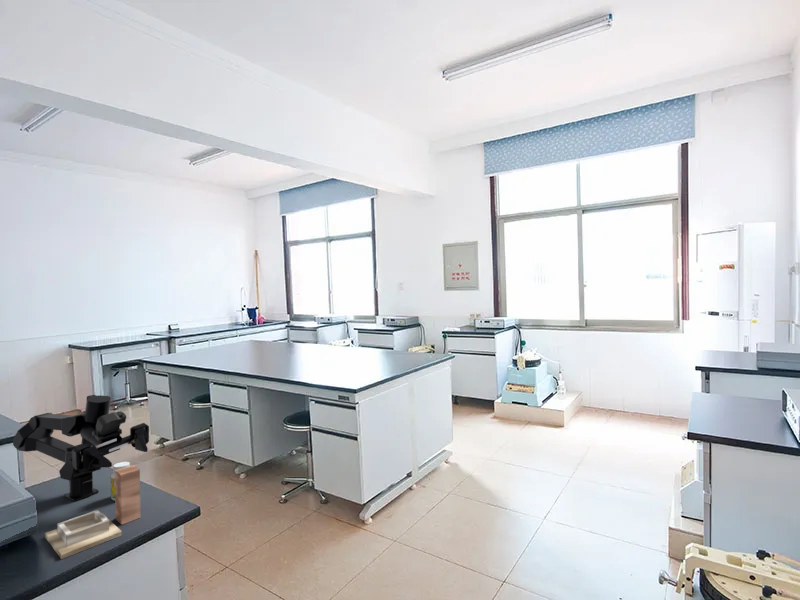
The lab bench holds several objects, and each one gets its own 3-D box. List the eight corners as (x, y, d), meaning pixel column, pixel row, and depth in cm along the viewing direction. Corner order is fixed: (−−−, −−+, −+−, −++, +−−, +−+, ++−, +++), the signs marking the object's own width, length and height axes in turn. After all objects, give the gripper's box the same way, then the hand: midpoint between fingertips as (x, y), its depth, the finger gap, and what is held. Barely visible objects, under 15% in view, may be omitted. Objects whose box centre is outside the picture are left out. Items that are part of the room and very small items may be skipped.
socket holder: (45, 537, 105) (44, 522, 105) (102, 516, 114) (102, 503, 114) (61, 559, 96) (61, 543, 96) (121, 535, 105) (121, 521, 105)
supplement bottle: (129, 499, 124) (129, 466, 123) (108, 502, 122) (107, 469, 122) (135, 491, 129) (134, 459, 129) (114, 493, 127) (114, 461, 127)
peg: (115, 519, 113) (114, 470, 113) (134, 512, 117) (133, 465, 116) (121, 524, 110) (120, 474, 110) (140, 517, 114) (139, 469, 114)
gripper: (60, 422, 113) (90, 445, 105) (133, 399, 129) (164, 418, 121) (61, 459, 115) (91, 484, 108) (133, 432, 131) (163, 452, 124)
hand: (129, 457), depth 115 cm, fingers open, 9 cm apart
